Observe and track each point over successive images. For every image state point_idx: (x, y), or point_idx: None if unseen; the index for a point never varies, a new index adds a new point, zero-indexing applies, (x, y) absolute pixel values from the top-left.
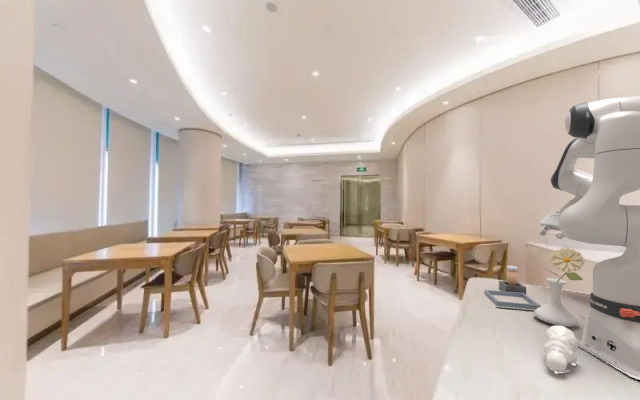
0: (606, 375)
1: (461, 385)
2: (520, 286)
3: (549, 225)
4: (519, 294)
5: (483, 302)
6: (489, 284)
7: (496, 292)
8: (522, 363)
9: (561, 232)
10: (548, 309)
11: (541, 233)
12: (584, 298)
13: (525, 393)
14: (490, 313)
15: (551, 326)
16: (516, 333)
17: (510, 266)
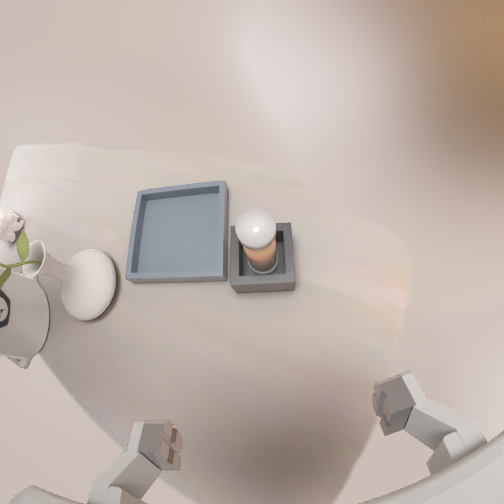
0: (3, 263)
1: (16, 154)
2: (235, 269)
3: (404, 489)
4: (217, 265)
5: (177, 179)
6: (357, 229)
7: (219, 207)
8: (21, 196)
9: (127, 459)
10: (70, 260)
11: (375, 384)
12: (292, 466)
13: (3, 190)
14: (120, 183)
15: (1, 212)
16: (61, 206)
17: (248, 217)
